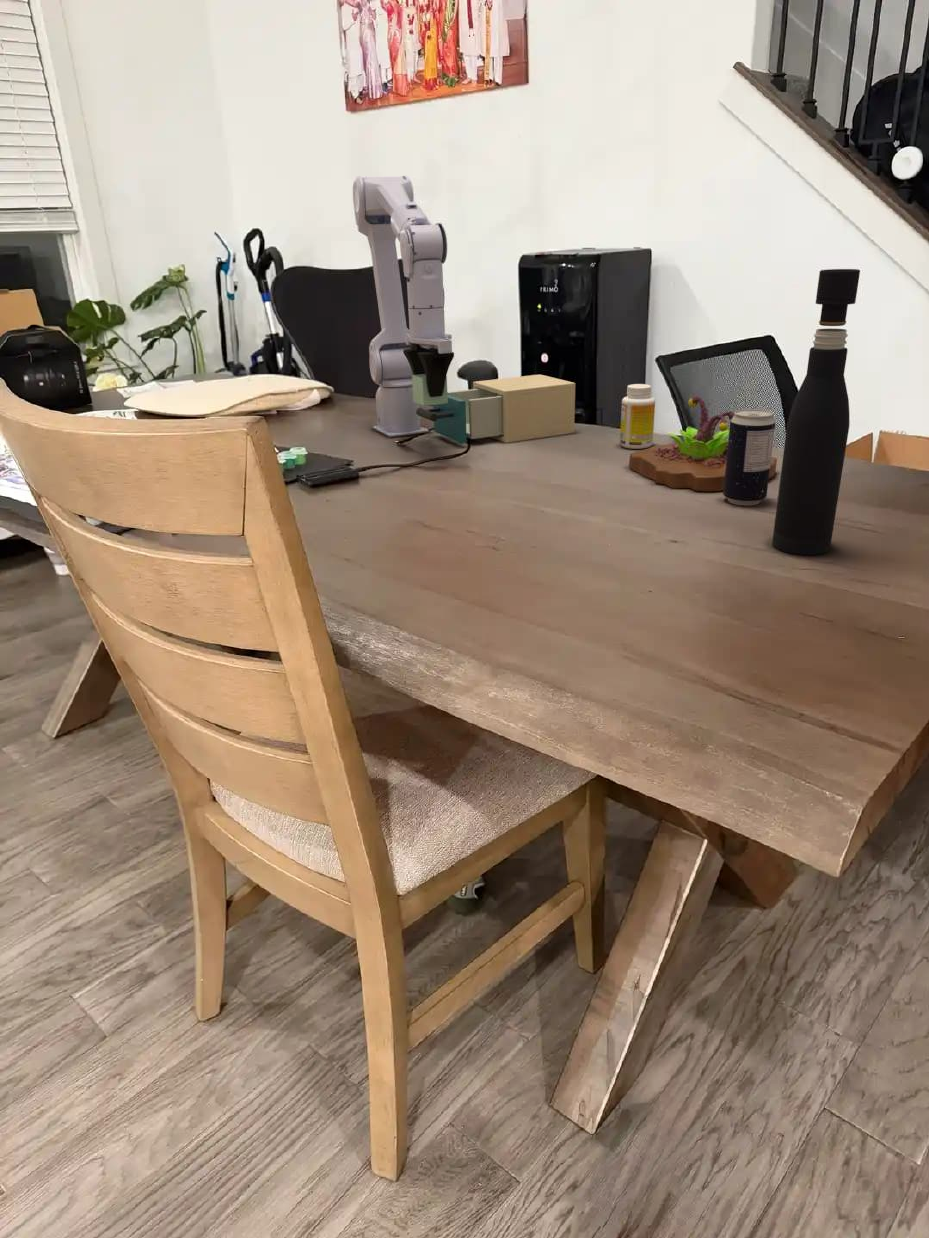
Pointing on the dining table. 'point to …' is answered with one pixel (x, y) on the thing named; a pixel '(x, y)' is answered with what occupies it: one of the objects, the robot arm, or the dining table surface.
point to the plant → (691, 456)
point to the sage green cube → (426, 392)
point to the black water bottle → (817, 429)
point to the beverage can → (749, 456)
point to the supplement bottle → (637, 417)
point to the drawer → (467, 415)
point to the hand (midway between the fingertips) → (430, 394)
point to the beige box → (533, 406)
